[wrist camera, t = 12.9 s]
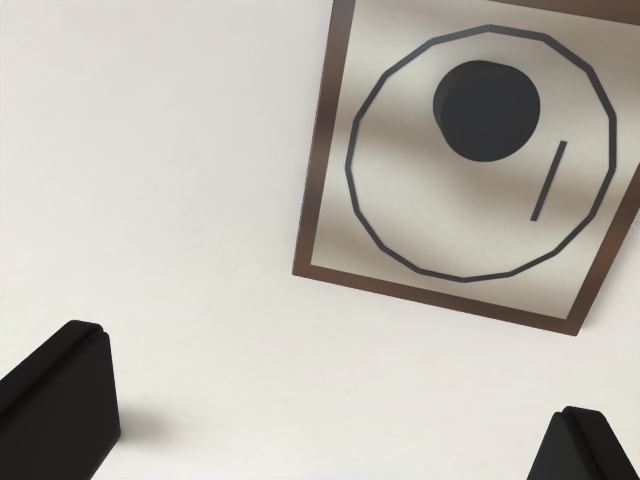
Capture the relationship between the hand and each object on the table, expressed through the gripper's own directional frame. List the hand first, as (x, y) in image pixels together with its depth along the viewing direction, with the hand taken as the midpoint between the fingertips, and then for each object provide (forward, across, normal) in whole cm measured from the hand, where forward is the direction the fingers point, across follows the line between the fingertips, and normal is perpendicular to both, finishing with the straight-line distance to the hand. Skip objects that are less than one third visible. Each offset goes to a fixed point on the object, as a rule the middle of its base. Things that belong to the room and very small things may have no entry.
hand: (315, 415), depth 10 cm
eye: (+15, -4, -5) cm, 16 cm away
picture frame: (+16, -5, -2) cm, 17 cm away
